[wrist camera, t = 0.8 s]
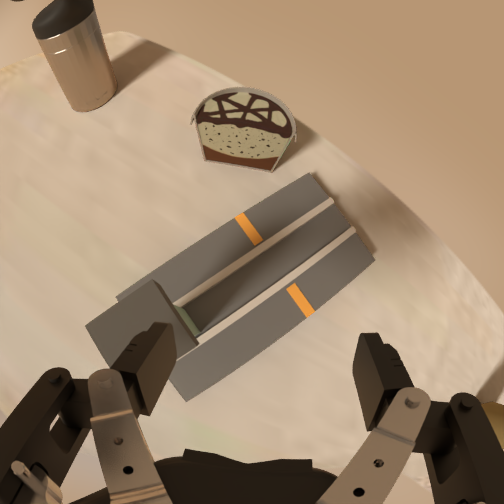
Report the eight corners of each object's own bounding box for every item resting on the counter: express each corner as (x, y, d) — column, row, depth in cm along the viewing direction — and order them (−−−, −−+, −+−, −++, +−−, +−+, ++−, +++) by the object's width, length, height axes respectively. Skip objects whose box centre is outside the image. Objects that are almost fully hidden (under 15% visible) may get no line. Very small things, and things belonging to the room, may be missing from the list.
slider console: (123, 299, 33) (112, 295, 29) (303, 182, 39) (311, 167, 35) (188, 395, 31) (184, 404, 27) (364, 264, 37) (380, 257, 33)
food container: (286, 140, 41) (303, 95, 31) (282, 174, 39) (300, 132, 30) (204, 126, 40) (202, 78, 30) (194, 159, 38) (188, 113, 29)
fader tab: (147, 326, 30) (84, 325, 14) (184, 301, 31) (152, 278, 15) (170, 360, 29) (126, 392, 14) (208, 335, 30) (196, 346, 15)
